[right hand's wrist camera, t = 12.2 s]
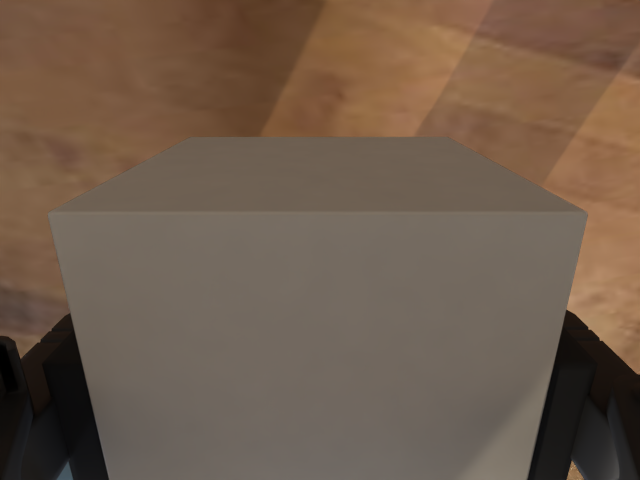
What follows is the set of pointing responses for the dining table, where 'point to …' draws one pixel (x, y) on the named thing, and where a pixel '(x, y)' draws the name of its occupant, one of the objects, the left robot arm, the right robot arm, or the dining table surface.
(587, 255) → the dining table surface
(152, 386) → the block
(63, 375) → the right robot arm
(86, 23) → the dining table surface
